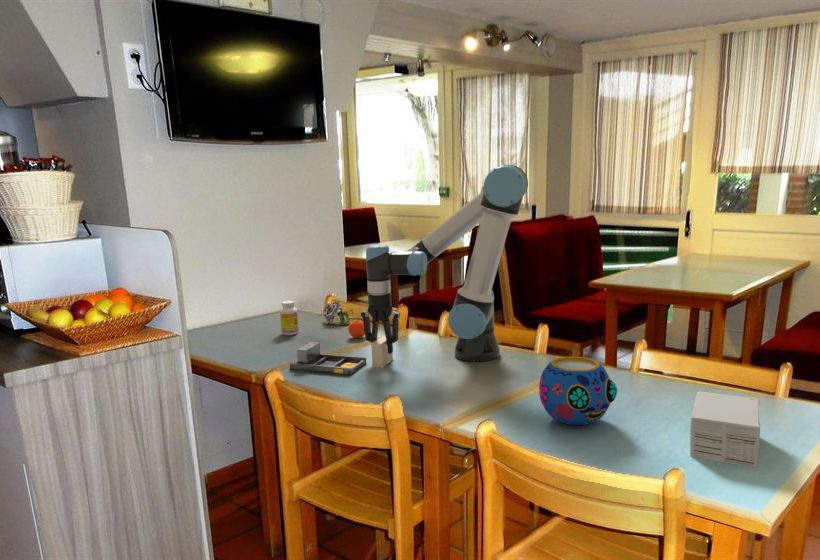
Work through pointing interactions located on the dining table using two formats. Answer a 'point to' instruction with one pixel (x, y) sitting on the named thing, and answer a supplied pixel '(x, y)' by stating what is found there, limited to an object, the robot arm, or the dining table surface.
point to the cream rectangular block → (379, 352)
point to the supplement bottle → (289, 318)
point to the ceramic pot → (576, 390)
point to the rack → (325, 361)
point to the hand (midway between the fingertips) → (382, 361)
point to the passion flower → (335, 312)
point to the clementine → (356, 329)
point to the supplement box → (725, 429)
